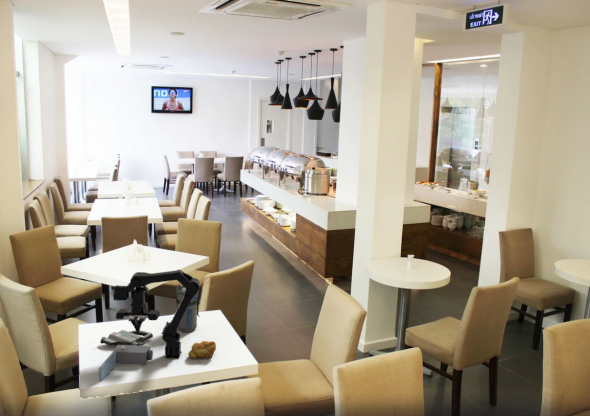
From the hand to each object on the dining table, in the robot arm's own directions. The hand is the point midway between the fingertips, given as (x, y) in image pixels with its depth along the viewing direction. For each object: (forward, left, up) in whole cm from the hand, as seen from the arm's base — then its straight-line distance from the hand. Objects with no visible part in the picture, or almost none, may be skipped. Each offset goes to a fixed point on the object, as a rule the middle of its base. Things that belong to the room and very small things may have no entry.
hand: (138, 332), depth 233 cm
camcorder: (+8, -13, -12) cm, 20 cm away
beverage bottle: (-17, -33, -12) cm, 39 cm away
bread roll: (-29, -3, -12) cm, 32 cm away
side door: (+9, +16, -12) cm, 22 cm away
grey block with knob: (+1, +5, -12) cm, 13 cm away
